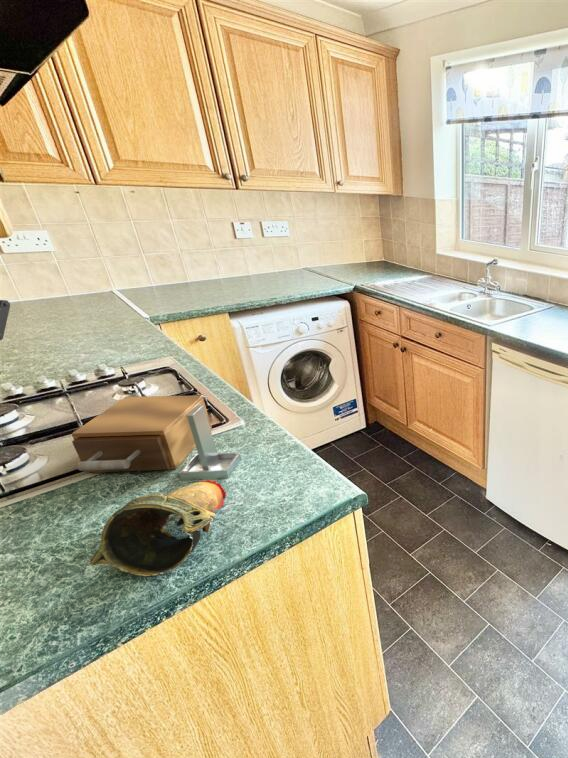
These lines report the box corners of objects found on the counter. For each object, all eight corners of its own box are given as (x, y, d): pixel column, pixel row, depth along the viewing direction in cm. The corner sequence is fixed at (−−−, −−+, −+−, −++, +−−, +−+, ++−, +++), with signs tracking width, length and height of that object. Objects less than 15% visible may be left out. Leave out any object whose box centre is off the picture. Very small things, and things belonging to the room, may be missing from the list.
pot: (248, 449, 73) (181, 487, 55) (274, 507, 74) (218, 562, 57) (147, 484, 71) (45, 535, 53) (176, 542, 73) (87, 610, 55)
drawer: (152, 485, 75) (140, 453, 72) (65, 489, 72) (49, 457, 70) (203, 431, 91) (195, 404, 88) (133, 433, 89) (122, 405, 86)
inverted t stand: (181, 480, 78) (160, 418, 72) (197, 461, 83) (179, 402, 78) (228, 478, 79) (211, 417, 74) (241, 459, 84) (226, 401, 79)
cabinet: (176, 468, 81) (163, 430, 77) (88, 472, 78) (70, 433, 74) (212, 429, 94) (202, 395, 90) (138, 431, 91) (125, 396, 87)
